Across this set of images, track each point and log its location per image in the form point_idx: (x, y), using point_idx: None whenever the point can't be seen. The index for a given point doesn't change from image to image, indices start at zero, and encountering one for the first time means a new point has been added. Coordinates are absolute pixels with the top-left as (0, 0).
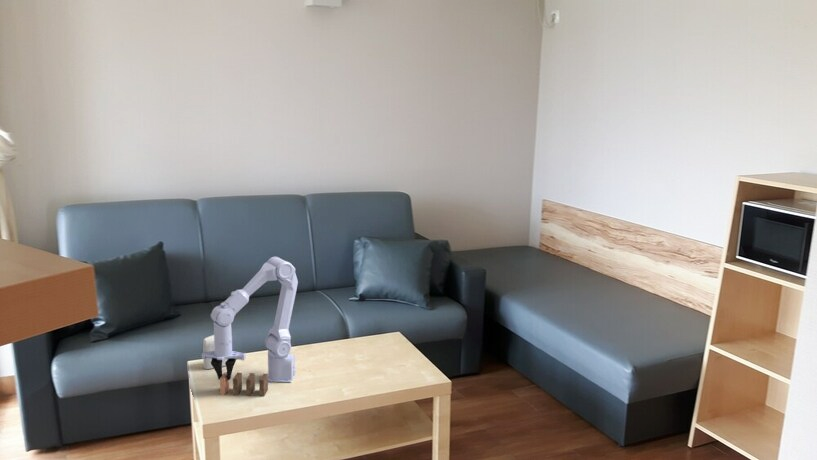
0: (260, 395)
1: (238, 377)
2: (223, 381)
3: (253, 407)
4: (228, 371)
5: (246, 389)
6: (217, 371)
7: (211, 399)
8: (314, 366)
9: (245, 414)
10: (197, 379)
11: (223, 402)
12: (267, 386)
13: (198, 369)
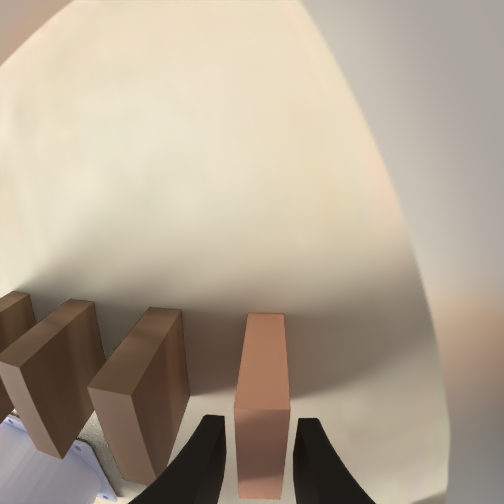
0: (22, 295)
1: (97, 415)
2: (248, 384)
3: (12, 145)
4: (175, 483)
5: (68, 323)
6: (333, 485)
7: (333, 231)
8: None
9: (36, 53)
10: (444, 448)
11: (215, 183)
12: None
13: (433, 499)
